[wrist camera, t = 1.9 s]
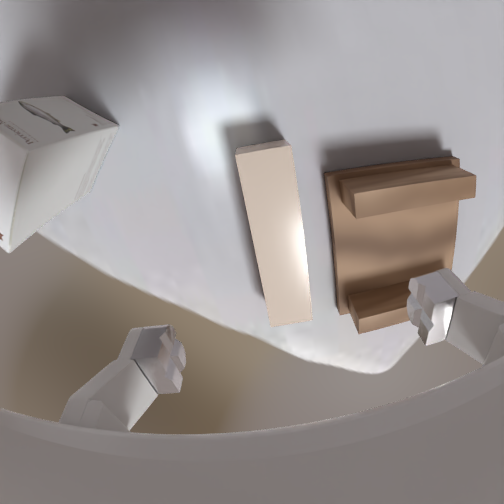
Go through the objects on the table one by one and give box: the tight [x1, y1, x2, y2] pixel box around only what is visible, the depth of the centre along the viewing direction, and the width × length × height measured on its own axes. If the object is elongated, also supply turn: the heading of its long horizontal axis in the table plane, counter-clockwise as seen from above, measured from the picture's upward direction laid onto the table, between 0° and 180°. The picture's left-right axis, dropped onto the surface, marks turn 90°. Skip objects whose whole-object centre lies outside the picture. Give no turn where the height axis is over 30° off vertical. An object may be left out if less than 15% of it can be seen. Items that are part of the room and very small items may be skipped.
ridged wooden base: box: [324, 156, 476, 334], centre depth 25 cm, size 15×14×5 cm
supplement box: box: [0, 96, 119, 253], centre depth 17 cm, size 7×7×13 cm
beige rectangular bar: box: [235, 140, 313, 327], centre depth 25 cm, size 16×4×4 cm, turn 11°
